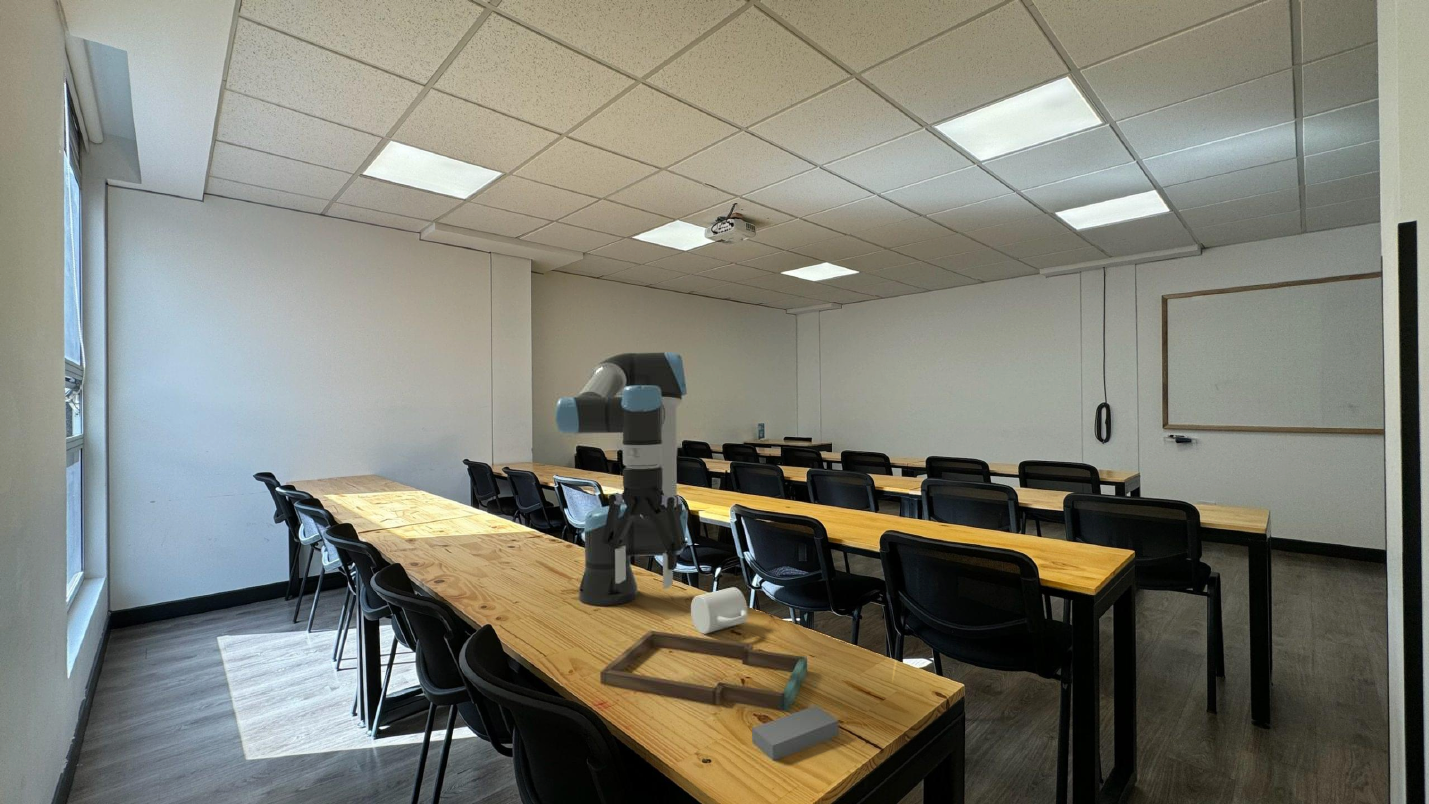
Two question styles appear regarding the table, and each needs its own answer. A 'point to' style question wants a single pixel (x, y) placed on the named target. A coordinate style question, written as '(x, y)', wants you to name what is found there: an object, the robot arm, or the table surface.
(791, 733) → the block
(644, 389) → the robot arm
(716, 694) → the keyhole corral
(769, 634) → the table surface
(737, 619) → the mug
